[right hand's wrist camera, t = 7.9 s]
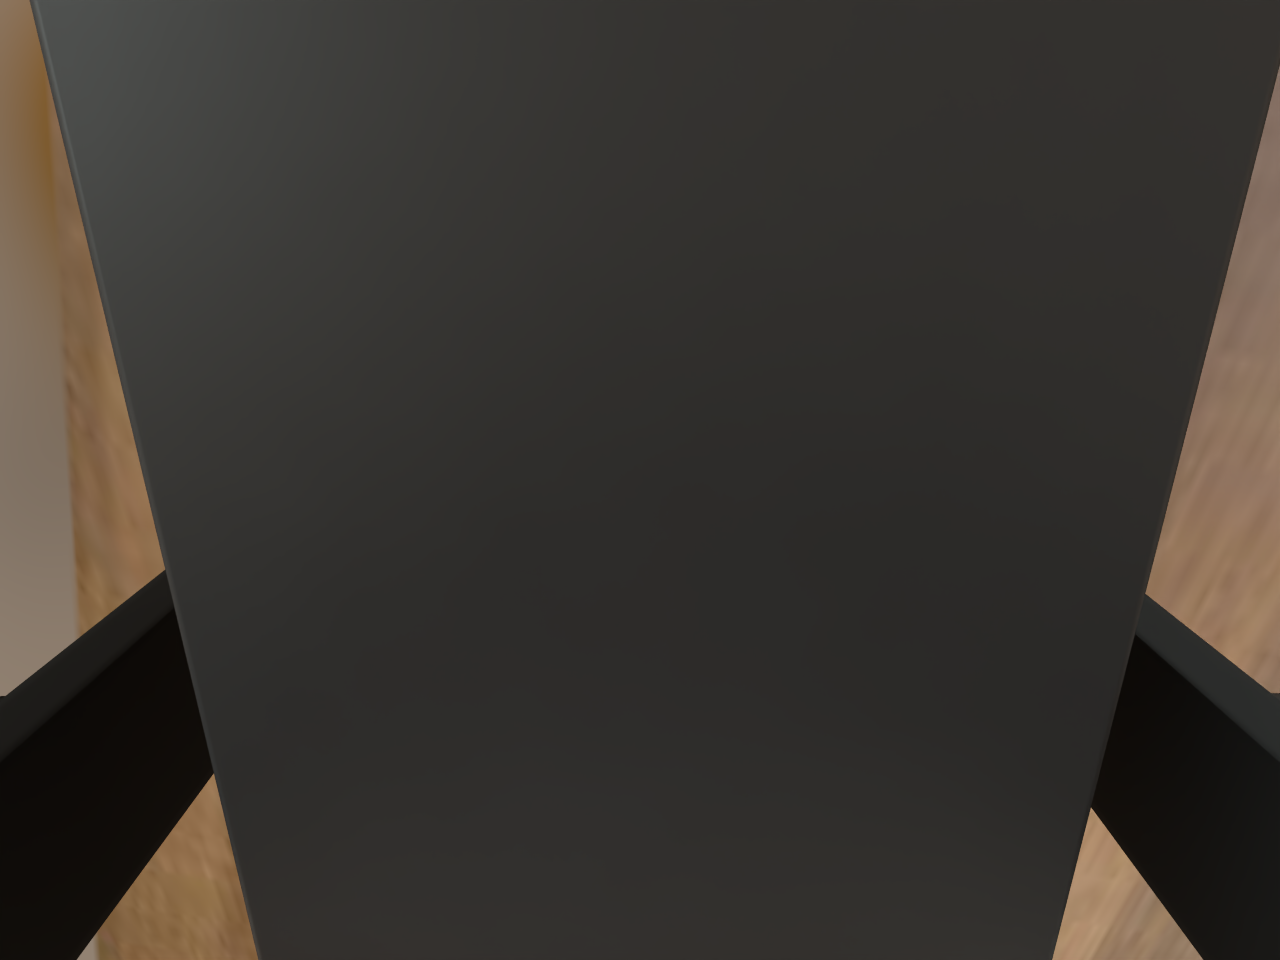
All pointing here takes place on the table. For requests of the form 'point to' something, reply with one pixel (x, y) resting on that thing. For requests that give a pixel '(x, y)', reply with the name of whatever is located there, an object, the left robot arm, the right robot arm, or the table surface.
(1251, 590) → the table surface
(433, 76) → the box
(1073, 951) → the table surface
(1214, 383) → the table surface
